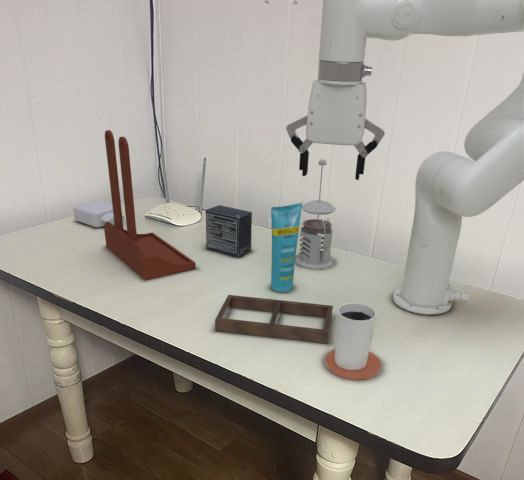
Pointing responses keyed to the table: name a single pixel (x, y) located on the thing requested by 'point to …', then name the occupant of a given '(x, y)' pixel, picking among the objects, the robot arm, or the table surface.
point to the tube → (284, 245)
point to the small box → (228, 230)
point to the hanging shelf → (128, 241)
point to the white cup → (354, 335)
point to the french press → (316, 234)
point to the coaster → (364, 373)
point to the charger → (94, 213)
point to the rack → (274, 319)
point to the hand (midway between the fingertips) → (330, 176)
